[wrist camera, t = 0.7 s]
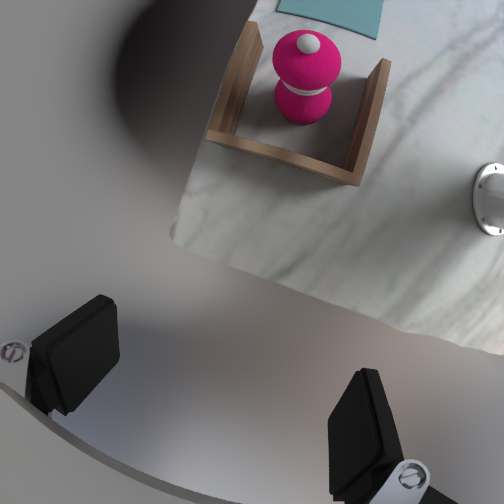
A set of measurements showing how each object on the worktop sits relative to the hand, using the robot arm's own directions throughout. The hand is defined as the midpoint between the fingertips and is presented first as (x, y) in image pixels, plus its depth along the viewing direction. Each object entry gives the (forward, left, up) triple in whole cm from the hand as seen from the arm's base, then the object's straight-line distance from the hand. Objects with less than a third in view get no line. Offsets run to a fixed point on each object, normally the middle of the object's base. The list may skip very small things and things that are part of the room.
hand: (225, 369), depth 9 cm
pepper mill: (+2, -18, -32) cm, 36 cm away
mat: (+2, -42, -31) cm, 52 cm away
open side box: (+2, -18, -31) cm, 36 cm away
